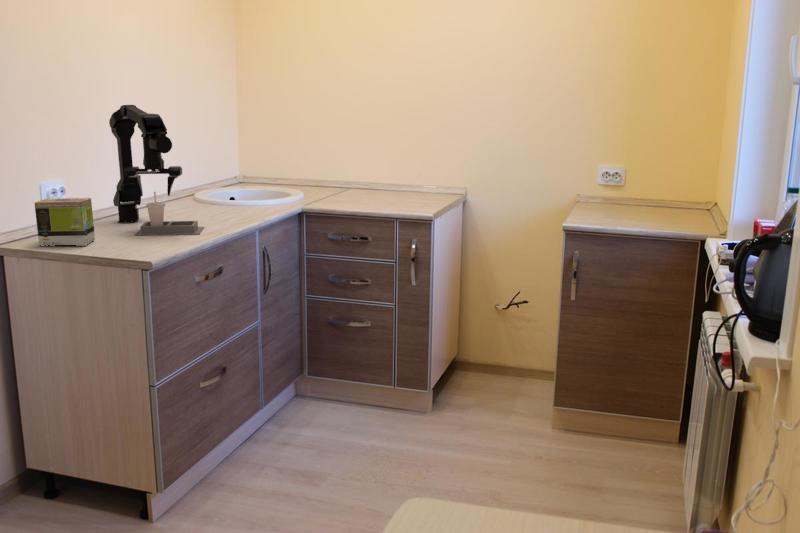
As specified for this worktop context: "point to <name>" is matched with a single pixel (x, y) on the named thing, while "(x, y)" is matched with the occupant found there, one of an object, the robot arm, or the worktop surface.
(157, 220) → the smoothie
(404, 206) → the worktop surface
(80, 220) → the tea box
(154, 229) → the bottle carrier
